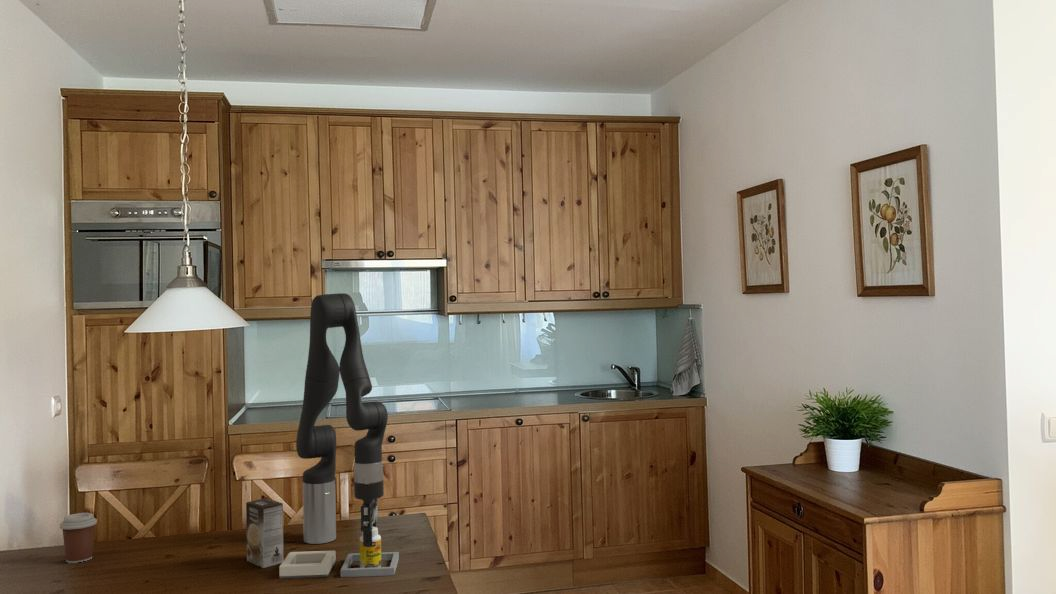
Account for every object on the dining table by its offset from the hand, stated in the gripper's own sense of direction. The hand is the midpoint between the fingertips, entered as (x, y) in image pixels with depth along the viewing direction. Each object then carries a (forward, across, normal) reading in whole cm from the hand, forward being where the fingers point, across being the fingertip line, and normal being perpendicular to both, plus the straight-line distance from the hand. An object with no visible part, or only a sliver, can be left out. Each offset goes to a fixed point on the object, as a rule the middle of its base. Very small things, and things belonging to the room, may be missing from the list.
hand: (370, 541), depth 215 cm
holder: (+7, 0, -16) cm, 18 cm away
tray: (+7, 0, 0) cm, 7 cm away
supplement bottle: (+7, 0, 0) cm, 7 cm away
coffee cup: (+6, -16, -81) cm, 83 cm away
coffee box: (+7, -8, -29) cm, 31 cm away
